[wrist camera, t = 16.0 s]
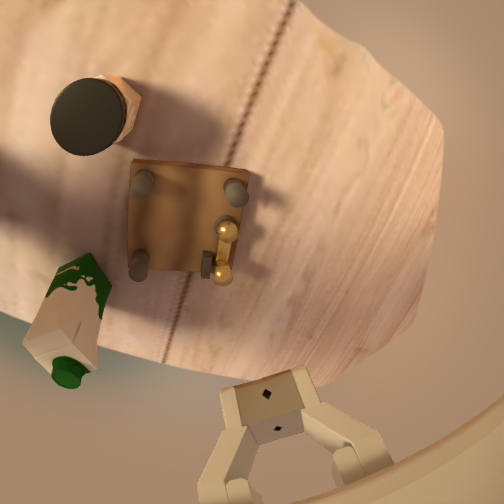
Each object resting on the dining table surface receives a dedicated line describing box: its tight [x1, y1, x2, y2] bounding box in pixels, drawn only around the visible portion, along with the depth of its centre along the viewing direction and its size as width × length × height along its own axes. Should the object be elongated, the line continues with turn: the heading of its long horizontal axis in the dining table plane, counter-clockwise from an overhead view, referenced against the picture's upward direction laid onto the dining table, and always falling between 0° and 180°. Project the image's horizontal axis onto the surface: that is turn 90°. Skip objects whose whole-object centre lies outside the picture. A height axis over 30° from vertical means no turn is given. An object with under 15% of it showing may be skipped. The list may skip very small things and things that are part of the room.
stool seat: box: [128, 159, 250, 282], centre depth 43 cm, size 16×16×7 cm
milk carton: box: [22, 253, 112, 389], centre depth 39 cm, size 9×9×20 cm
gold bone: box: [211, 218, 238, 286], centre depth 45 cm, size 9×3×4 cm, turn 169°
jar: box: [50, 75, 142, 156], centre depth 31 cm, size 9×8×12 cm
